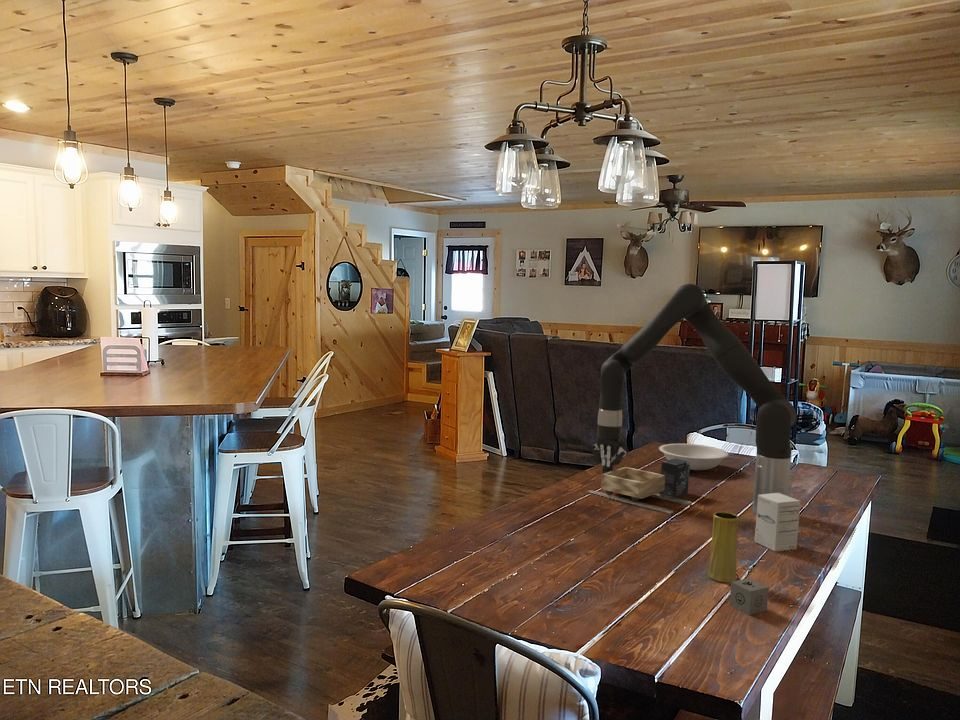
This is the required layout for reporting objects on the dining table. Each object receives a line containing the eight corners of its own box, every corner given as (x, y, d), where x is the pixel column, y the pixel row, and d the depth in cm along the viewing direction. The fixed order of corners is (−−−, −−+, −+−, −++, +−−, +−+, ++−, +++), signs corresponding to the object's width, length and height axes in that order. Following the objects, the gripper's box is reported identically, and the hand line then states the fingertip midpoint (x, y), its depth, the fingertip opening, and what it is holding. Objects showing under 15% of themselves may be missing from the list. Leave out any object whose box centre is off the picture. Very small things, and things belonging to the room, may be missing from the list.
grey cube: (746, 601, 149) (748, 578, 149) (766, 611, 145) (768, 587, 144) (729, 605, 147) (731, 582, 146) (749, 615, 143) (750, 591, 142)
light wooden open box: (664, 494, 223) (665, 475, 222) (641, 503, 212) (642, 483, 212) (624, 485, 232) (625, 466, 231) (600, 493, 222) (601, 474, 221)
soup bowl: (734, 467, 265) (735, 449, 264) (717, 481, 245) (719, 462, 244) (669, 457, 278) (670, 440, 277) (649, 469, 257) (650, 451, 257)
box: (675, 498, 222) (677, 464, 221) (659, 494, 226) (661, 461, 225) (688, 493, 228) (690, 461, 227) (672, 489, 232) (674, 457, 231)
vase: (713, 570, 165) (717, 509, 164) (740, 577, 162) (744, 515, 160) (703, 577, 161) (707, 515, 159) (730, 585, 157) (734, 521, 155)
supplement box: (753, 542, 185) (756, 494, 184) (776, 539, 188) (779, 491, 186) (774, 552, 178) (778, 502, 177) (797, 549, 181) (801, 500, 179)
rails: (691, 504, 217) (692, 501, 216) (670, 513, 206) (670, 511, 206) (611, 485, 235) (611, 483, 235) (587, 493, 225) (587, 491, 225)
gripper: (634, 424, 225) (631, 479, 226) (598, 418, 233) (595, 471, 235) (622, 427, 219) (619, 483, 221) (585, 421, 228) (583, 475, 230)
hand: (607, 477), depth 228 cm, fingers closed
